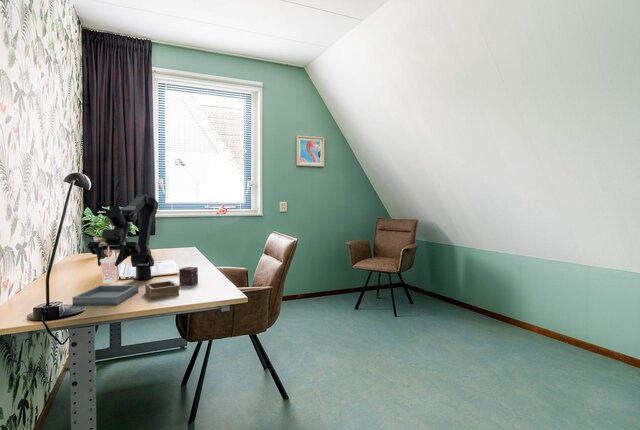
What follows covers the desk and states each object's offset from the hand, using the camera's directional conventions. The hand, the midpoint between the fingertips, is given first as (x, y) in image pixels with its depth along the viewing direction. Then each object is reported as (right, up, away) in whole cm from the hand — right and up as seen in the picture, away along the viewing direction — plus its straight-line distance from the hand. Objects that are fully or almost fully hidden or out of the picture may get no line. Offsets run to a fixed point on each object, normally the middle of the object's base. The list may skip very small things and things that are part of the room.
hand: (107, 265), depth 149 cm
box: (+23, -12, +26) cm, 37 cm away
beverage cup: (0, -7, +2) cm, 7 cm away
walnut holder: (+18, -13, +9) cm, 23 cm away
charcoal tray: (-1, -13, +2) cm, 13 cm away
